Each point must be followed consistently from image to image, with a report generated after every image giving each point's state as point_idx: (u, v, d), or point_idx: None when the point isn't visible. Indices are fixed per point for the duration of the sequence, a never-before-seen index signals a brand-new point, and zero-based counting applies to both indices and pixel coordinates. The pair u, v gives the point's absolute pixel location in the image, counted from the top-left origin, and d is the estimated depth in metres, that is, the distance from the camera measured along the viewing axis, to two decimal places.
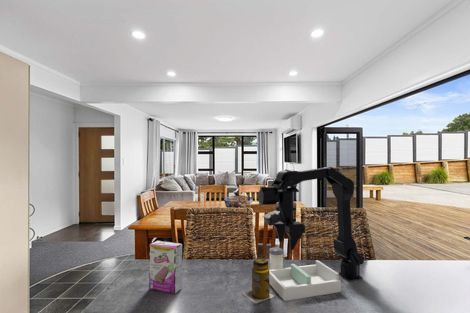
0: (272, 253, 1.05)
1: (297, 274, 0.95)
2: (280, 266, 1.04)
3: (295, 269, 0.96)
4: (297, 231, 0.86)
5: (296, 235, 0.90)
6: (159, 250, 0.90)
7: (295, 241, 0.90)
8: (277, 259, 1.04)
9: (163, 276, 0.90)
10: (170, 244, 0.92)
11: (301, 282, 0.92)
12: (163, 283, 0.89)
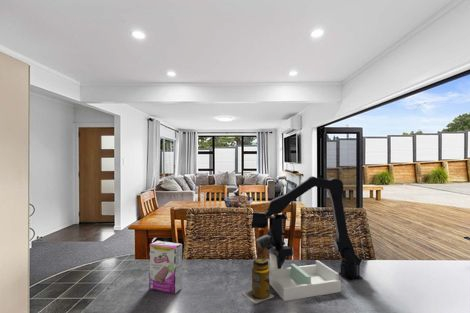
0: (272, 253, 1.05)
1: (297, 274, 0.95)
2: None
3: (295, 269, 0.96)
4: (285, 255, 0.98)
5: (283, 256, 1.03)
6: (159, 250, 0.90)
7: (282, 262, 1.03)
8: None
9: (163, 276, 0.90)
10: (170, 244, 0.92)
11: (301, 282, 0.92)
12: (163, 283, 0.89)
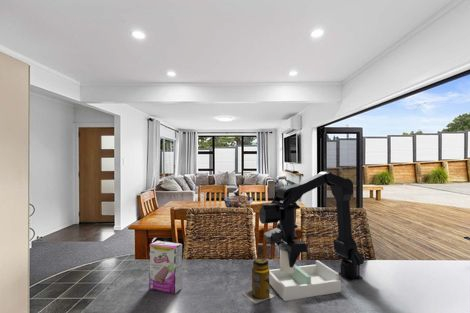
0: (283, 249, 0.91)
1: (297, 274, 0.95)
2: None
3: (295, 269, 0.96)
4: (299, 251, 0.84)
5: (295, 253, 0.89)
6: (159, 250, 0.90)
7: (294, 259, 0.89)
8: None
9: (163, 276, 0.90)
10: (170, 244, 0.92)
11: (301, 282, 0.92)
12: (163, 283, 0.89)
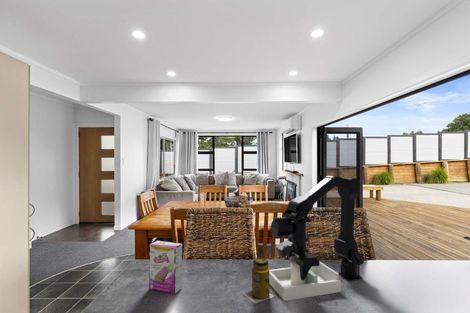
0: (294, 262, 0.92)
1: None
2: None
3: None
4: (311, 265, 0.85)
5: None
6: (159, 250, 0.90)
7: (306, 272, 0.90)
8: None
9: (163, 276, 0.90)
10: (170, 244, 0.92)
11: (307, 281, 0.92)
12: (163, 283, 0.89)
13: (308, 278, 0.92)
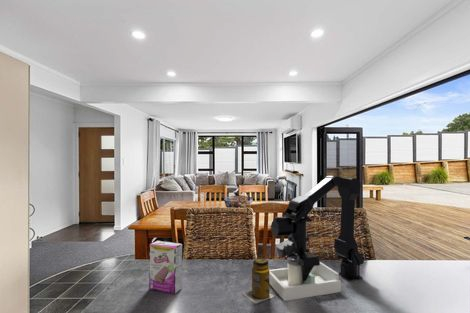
0: (291, 263, 0.92)
1: None
2: (300, 278, 0.91)
3: None
4: (311, 265, 0.85)
5: (308, 266, 0.89)
6: (159, 250, 0.90)
7: (307, 272, 0.89)
8: (297, 270, 0.91)
9: (163, 276, 0.90)
10: (170, 244, 0.92)
11: (305, 281, 0.92)
12: (163, 283, 0.89)
13: None
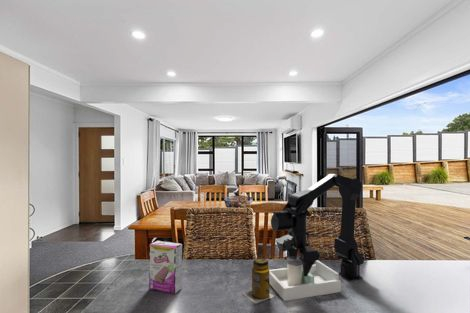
0: (290, 263, 0.92)
1: None
2: (300, 278, 0.91)
3: None
4: (311, 258, 0.85)
5: (310, 261, 0.89)
6: (159, 250, 0.90)
7: (309, 267, 0.89)
8: (297, 271, 0.91)
9: (163, 276, 0.90)
10: (170, 244, 0.92)
11: (304, 282, 0.92)
12: (163, 283, 0.89)
13: (305, 278, 0.92)
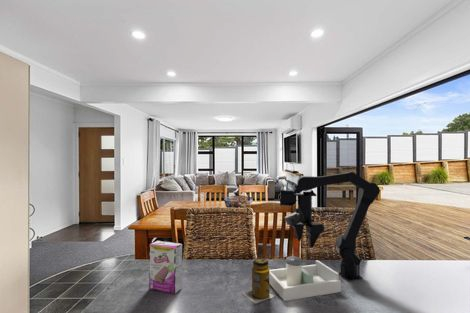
0: (290, 263, 0.91)
1: None
2: (299, 278, 0.91)
3: None
4: (317, 231, 0.97)
5: (315, 234, 1.01)
6: (159, 250, 0.90)
7: (314, 239, 1.01)
8: (296, 271, 0.91)
9: (163, 276, 0.90)
10: (170, 244, 0.92)
11: (303, 282, 0.92)
12: (163, 283, 0.89)
13: (304, 279, 0.92)
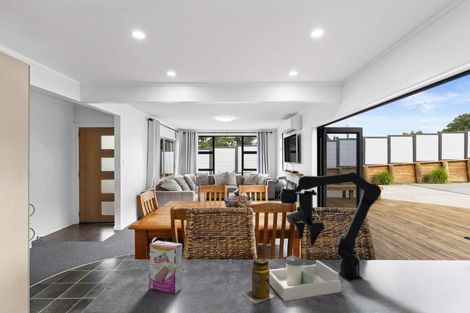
0: (290, 263, 0.91)
1: None
2: (299, 278, 0.91)
3: None
4: (317, 229, 0.99)
5: (316, 232, 1.03)
6: (159, 250, 0.90)
7: (315, 237, 1.03)
8: (296, 271, 0.91)
9: (163, 276, 0.90)
10: (170, 244, 0.92)
11: (303, 282, 0.92)
12: (163, 283, 0.89)
13: (304, 279, 0.92)
